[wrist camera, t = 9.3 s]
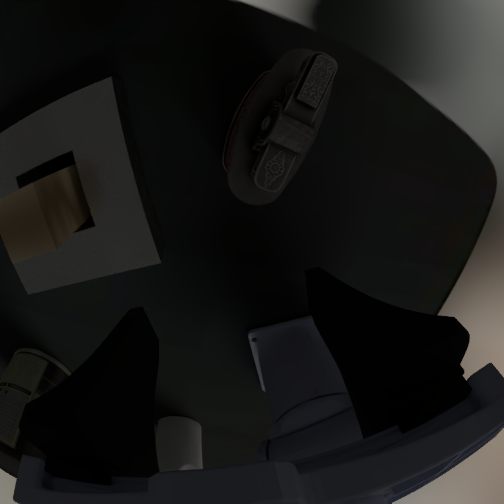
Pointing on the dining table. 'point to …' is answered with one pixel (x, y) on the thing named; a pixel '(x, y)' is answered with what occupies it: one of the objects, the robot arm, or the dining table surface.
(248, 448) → the dining table surface
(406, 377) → the robot arm
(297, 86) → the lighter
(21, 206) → the peg
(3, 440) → the coffee can
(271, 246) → the dining table surface
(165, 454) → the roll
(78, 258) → the square hole board
